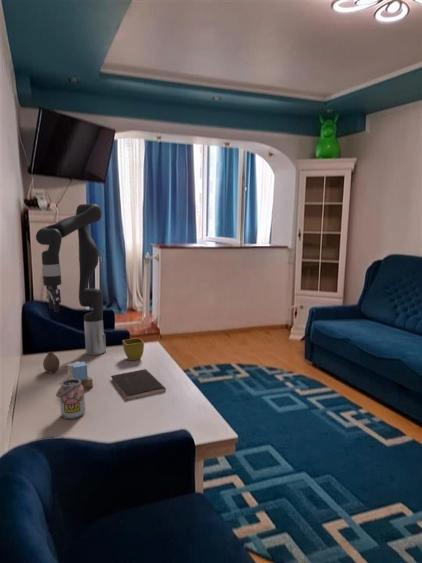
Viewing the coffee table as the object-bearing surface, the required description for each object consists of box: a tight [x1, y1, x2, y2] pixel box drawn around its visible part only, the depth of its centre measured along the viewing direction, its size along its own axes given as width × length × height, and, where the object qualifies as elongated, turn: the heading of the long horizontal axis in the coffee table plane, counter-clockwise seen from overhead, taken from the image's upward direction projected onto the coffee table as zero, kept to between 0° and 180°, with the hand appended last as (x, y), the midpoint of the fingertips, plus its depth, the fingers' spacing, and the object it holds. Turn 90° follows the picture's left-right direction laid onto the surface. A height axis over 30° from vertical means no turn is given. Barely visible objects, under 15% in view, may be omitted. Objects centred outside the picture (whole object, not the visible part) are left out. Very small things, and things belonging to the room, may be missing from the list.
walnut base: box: [67, 376, 94, 391], centre depth 171 cm, size 7×7×4 cm
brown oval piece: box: [42, 351, 61, 374], centre depth 190 cm, size 7×7×9 cm
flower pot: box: [122, 337, 145, 361], centre depth 204 cm, size 9×9×9 cm
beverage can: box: [55, 378, 86, 420], centre depth 147 cm, size 9×8×12 cm
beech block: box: [67, 361, 80, 379], centre depth 182 cm, size 5×5×6 cm
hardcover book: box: [110, 368, 167, 400], centre depth 173 cm, size 16×23×2 cm
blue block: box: [72, 361, 89, 381], centre depth 171 cm, size 5×5×6 cm
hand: (54, 310), depth 187 cm, fingers open, 8 cm apart
